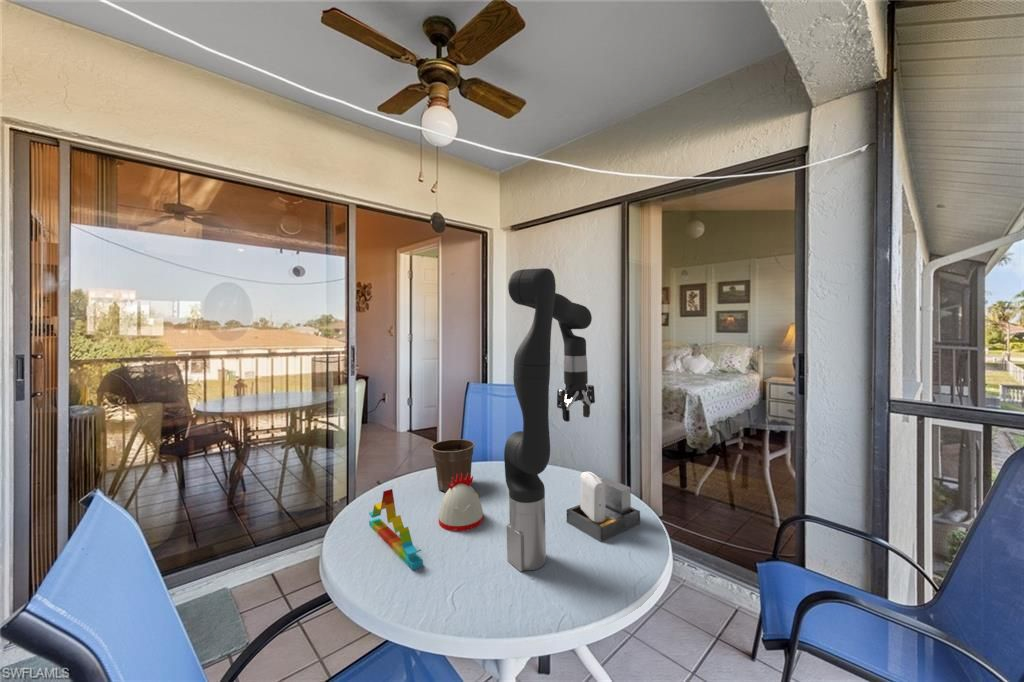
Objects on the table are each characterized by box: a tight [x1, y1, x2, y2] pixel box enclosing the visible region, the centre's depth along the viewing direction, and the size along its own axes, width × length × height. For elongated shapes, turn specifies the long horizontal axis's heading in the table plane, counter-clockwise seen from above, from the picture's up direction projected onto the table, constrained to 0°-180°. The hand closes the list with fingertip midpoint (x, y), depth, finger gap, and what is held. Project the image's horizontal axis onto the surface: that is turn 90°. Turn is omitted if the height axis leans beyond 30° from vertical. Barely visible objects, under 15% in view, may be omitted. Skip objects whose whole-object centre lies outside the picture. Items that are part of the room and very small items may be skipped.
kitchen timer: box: [438, 473, 484, 532], centre depth 129 cm, size 14×14×15 cm
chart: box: [368, 488, 424, 571], centre depth 116 cm, size 30×3×15 cm, turn 39°
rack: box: [566, 477, 641, 543], centre depth 125 cm, size 17×14×11 cm
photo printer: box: [579, 471, 606, 523], centre depth 122 cm, size 10×4×12 cm, turn 17°
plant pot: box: [431, 438, 475, 493], centre depth 155 cm, size 16×16×16 cm
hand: (576, 419), depth 133 cm, fingers open, 8 cm apart
